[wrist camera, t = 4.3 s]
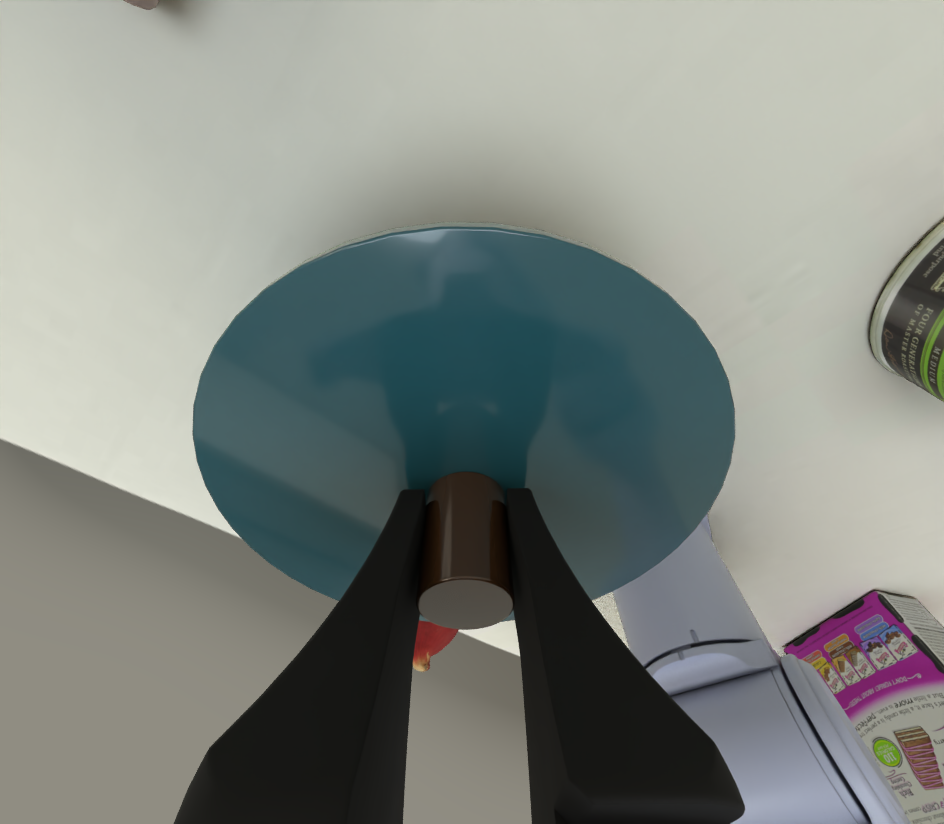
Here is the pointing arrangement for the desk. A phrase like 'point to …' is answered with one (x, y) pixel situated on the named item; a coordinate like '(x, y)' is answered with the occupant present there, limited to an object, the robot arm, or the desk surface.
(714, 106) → the desk surface
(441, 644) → the onion
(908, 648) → the candy bar box
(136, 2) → the coil
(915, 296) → the coffee can
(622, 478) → the pot lid
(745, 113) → the desk surface
